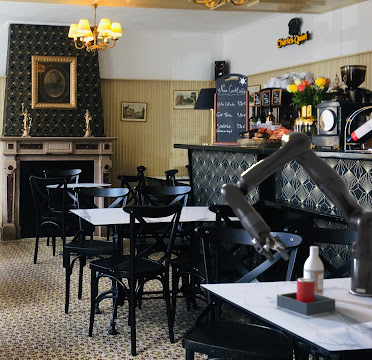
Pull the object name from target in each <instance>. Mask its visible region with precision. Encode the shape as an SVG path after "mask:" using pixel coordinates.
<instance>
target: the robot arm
mask: <svg viewBox="0 0 372 360" xmlns="http://www.w3.org/2000/svg"><path fill="white" fill-rule="evenodd" d="M293 161H295V162H296V163H298V164H299V165H300V167H301V168H302V169H303V171H304V172H305V173H306V174H307V176H308V177H309V179H310V180H311V181H312V182H313V183H314V185H315V186H316V187H317V189H318V190H319V191H320V192H321V193H322V194H323V195H324V196H325V197H326V198H327V200H328V201H329V202H330V203H331V204H332V205H333V206H334V207H335V208H336V209H337V210H338V212H339V213H340V214H341V215H342V216H343V218H344V220H345V221H346V223H347V224H348V225H349V226H350V228H351V229H352V230H353V231H355V232H356V233H357V234H356V235H357V236H356V240H355V241H354V242H352V243H351V263H350V264H351V267H350V269H351V270H350V290H349V291H350V294H353V295H356V296H361V297H372V211H369V210H366V209H365V208H364V207H362V206H361V205H360V204H359V203H358V202H357V201H356V200H355V199H354V197H353V196H352V194H351V191H350V188H349V187H348V184H347V182H346V181H345V179H344V178H343V177H342V176H341V175H340V174H339V172H338V171H337V170H336V169H335V168H334V167H333V166H331V165H330V164H329V163H327V162H326V161H325V160H324V159H323V158H321V157H320V156H319V155H317V153H316V152H315V151H314V150H313V148H312V141H311V138H310V136H309V135H307V134H306V133H303V132H300V131H296V130H295V131H293V130H292V131H289V132H286V133H285V134H283V136H282V138H281V147H280V148H279V149H278V150H277V151H275V152H273V154H271V155H270V156H269V155H268V156H267V157H265V158H264V159H262V160H260V161H259V162H257V163H256V164H253V165H252V166H251V167H250V168H248V169H247V170H246V171H244V172H243V173H242V174H241V175H240V176H239V180H238V181H237V182H236V183H235V184H234V183H231V182H228V183H225V184H223V185H222V186H221V189H220V195H221V197H222V198H223V200H224V201H225V202H226V203H227V205H228V206H229V207H230V209H232V212H233V213H234V214H235V216H236V217H237V219H238V220H239V222H240V223H241V225H242V227H243V228H244V229H245V231H246V232H247V234H248V235H249V237H251V239H252V240H251V244H252V247H254V249H255V250H256V252H257V253H258V254H259V255H263V256H265V258H266V259H267V260H268V262H269V263H274V262H275V261H276V260H277V259H276V257H275V256H274V255H273V254H272V251H270V249H272V250H273V251H274V250H275V251H277V252H278V253H279V254H280V256H281V258H283V260H284V261H288V260H289V259H290V255H289V254H288V252H287V251H286V248H287V247H288V246H287V245H286V243H285V242H284V240H282V238H281V237H280V235H278V234H275V235H274V236H273V235H272V234H271V228H270V227H269V225H268V224H267V223H266V221H265V220H264V219H263V218H262V216H261V215H260V214H259V213H258V212H257V211H256V210H255V208H254V207H253V205H252V204H251V203H250V202H249V201H248V200H247V198H246V197H247V196H248V195H249V194H250V193H251V192H252V190H253V189H255V188H256V187H257V186H258V185H260V184H261V183H262V182H263V181H265V180H267V178H269V177H270V176H271V175H273V174H274V173H275V172H277V171H279V170H280V169H281V168H282V167H284V166H286V165H288V164H289V163H291V162H293Z"/></svg>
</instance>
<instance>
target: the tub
mask: <svg viewBox="0 0 372 360" xmlns="http://www.w3.org/2000/svg"><path fill="white" fill-rule="evenodd" d="M276 306H277V307H279V308H282V309H285V310H288V311H292V312H294V313H298V314H300V315H303V316H313V315H319V314H325V313H331V312H335V311H336V299H334V298H331V297H328V296H325V295H323V296H321V295H317V294H315V302H312V303H304V302H301V301H298V300H297V291H294V292H287V293H280V294H276Z"/></svg>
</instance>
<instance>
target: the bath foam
mask: <svg viewBox="0 0 372 360" xmlns="http://www.w3.org/2000/svg"><path fill="white" fill-rule="evenodd" d="M319 248H320V247H319V246H314V245H311V246H310V247H309V257H308V258H307V259H306V260H305V263H304V266H303V278H310V279H313V280H314V281H315V294H317V295H321V296H324V274H325V273H324V271H325V269H324V264H323V262H322V260H321V258H320V257H319Z"/></svg>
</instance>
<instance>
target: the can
mask: <svg viewBox="0 0 372 360" xmlns="http://www.w3.org/2000/svg"><path fill="white" fill-rule="evenodd" d="M296 292H297V300H298V301H301V302H304V303H312V302H315V281H314V280H313V279H310V278H304V277H299V278H297V279H296Z"/></svg>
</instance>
